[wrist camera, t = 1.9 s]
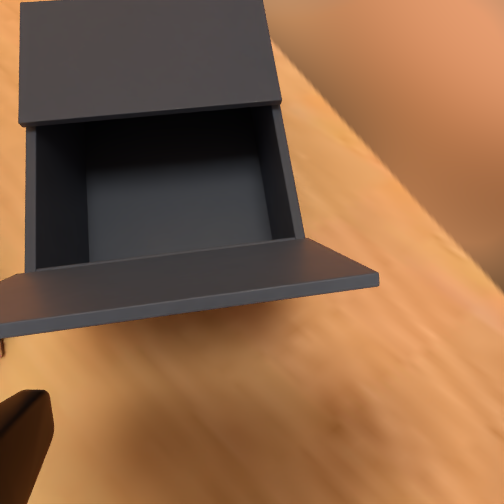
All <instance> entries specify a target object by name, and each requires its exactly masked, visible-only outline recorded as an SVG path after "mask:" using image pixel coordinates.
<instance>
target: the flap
mask: <svg viewBox="0 0 504 504" xmlns="http://www.w3.org/2000/svg"><path fill="white" fill-rule="evenodd" d="M377 286H379V273H378V272H376V271H374V270H372V269H370V268H368V267H366V266H364V265H362V264H360V263H358V262H356V261H354V260H352V259H350V258H348V257H346V256H344V255H341V254H339V253H337V252H335V251H333V250H331V249H329V248H327V247H325V246H323V245H321V244H319V243H317V242H315V241H313V240H311V239H309V238H304V239H296V240H288V241H280V242H272V243H263V244H255V245H247V246H239V247H231V248H223V249H215V250H207V251H199V252H191V253H183V254H175V255H167V256H159V257H150V258H142V259H134V260H126V261H118V262H110V263H102V264H94V265H86V266H78V267H70V268H62V269H54V270H46V271H38V272H29V273H21V274H16V275H14V276H11V277H9V278H7V279H5V280H2V281H0V339H3V338H10V337H17V336H24V335H31V334H39V333H46V332H53V331H60V330H67V329H75V328H82V327H89V326H96V325H103V324H111V323H118V322H125V321H132V320H139V319H147V318H154V317H161V316H168V315H175V314H183V313H190V312H197V311H204V310H212V309H219V308H226V307H233V306H240V305H248V304H255V303H262V302H269V301H276V300H284V299H291V298H298V297H305V296H312V295H320V294H327V293H334V292H341V291H348V290H356V289H363V288H370V287H377Z"/></svg>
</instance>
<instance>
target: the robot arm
mask: <svg viewBox="0 0 504 504" xmlns="http://www.w3.org/2000/svg"><path fill="white" fill-rule="evenodd" d="M53 434H54V421H53V414H52V407H51V401H50V396H49V393H48V392H47V391H45V390H22V391H20V392H18V393H17V394H15V395H13V396H11V397H10V398H8V399H6V400H5V401H3V402H1V403H0V504H27V502H28V500H29V497H30V495H31V492H32V490H33V487H34V485H35V482H36V479H37V477H38V474H39V472H40V469H41V467H42V464H43V462H44V459H45V456H46V454H47V451H48V449H49V446H50V444H51V441H52V438H53Z"/></svg>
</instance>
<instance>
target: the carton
mask: <svg viewBox="0 0 504 504" xmlns="http://www.w3.org/2000/svg"><path fill="white" fill-rule="evenodd" d="M281 102H282V97H281V92H280V87H279V82H278V77H277V72H276V66H275V61H274V56H273V51H272V46H271V40H270V35H269V30H268V26H267V20H266V14H265V9H264V5H263V0H54V1H38V2H21V3H20V53H19V117H18V123H19V124H20V125H21V126H22V127H26V190H25V273H29V272H38V271H46V270H54V269H62V268H70V267H78V266H86V265H94V264H102V263H110V262H118V261H126V260H134V259H142V258H150V257H159V256H167V255H175V254H183V253H191V252H199V251H207V250H215V249H223V248H231V247H239V246H247V245H255V244H263V243H272V242H280V241H288V240H296V239H304V238H305V234H304V229H303V224H302V218H301V213H300V208H299V203H298V197H297V192H296V187H295V182H294V176H293V171H292V166H291V161H290V155H289V150H288V145H287V140H286V134H285V129H284V124H283V119H282V113H281V108H280V104H281Z"/></svg>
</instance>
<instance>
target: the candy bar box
mask: <svg viewBox="0 0 504 504" xmlns="http://www.w3.org/2000/svg"><path fill="white" fill-rule="evenodd" d="M2 355H3V349H2V339H0V357H1V356H2Z"/></svg>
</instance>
